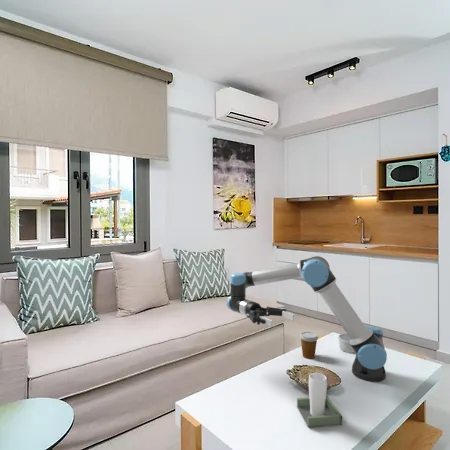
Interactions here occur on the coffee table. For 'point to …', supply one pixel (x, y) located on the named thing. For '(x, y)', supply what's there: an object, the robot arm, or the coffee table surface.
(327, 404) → the tray
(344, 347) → the ramekin
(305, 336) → the disposable coffee cup
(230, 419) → the coffee table surface
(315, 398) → the drinking glass
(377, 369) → the robot arm
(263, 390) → the coffee table surface
